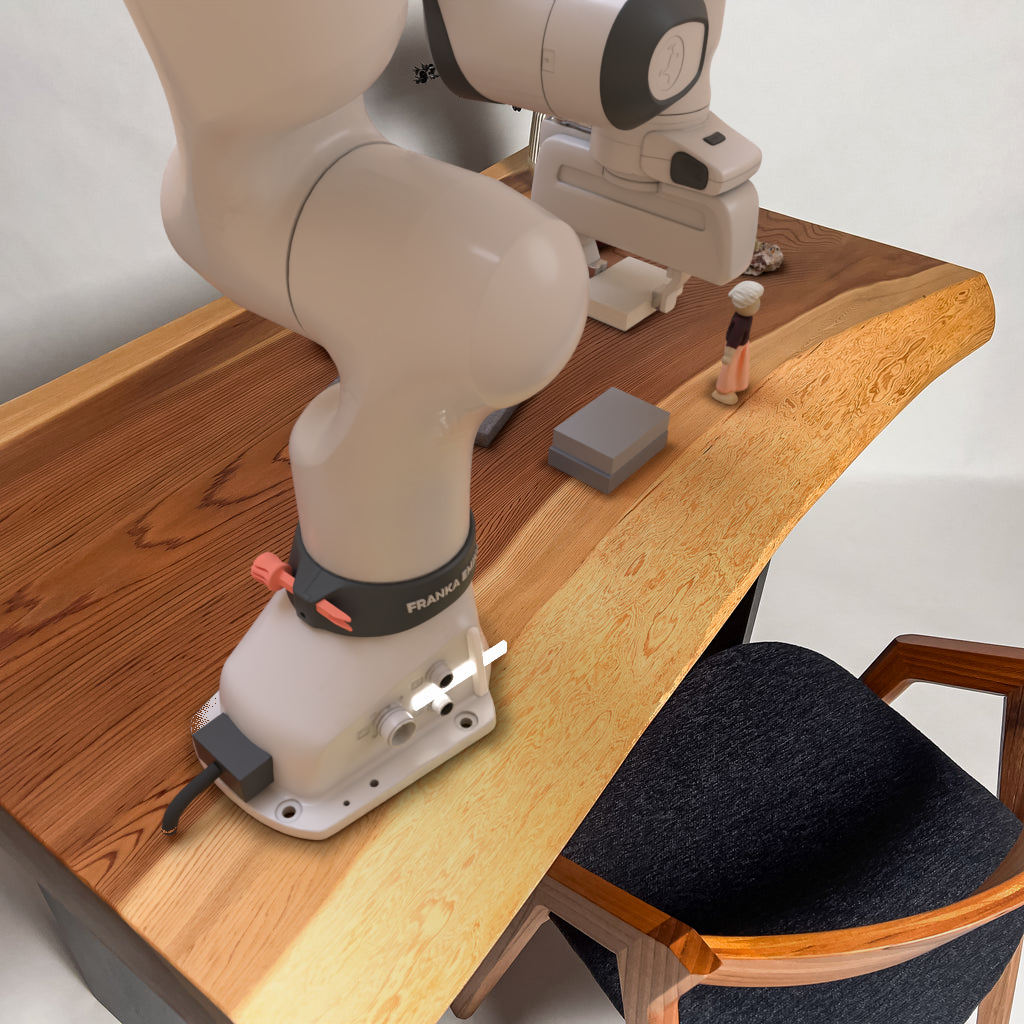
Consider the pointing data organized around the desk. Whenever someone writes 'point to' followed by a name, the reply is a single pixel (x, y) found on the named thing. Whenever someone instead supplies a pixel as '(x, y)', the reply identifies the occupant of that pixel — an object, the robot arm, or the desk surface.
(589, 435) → the grey stack
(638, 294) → the white flat block
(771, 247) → the mineral rock
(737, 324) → the grandmother figurine
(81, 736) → the desk surface
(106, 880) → the desk surface
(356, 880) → the desk surface
